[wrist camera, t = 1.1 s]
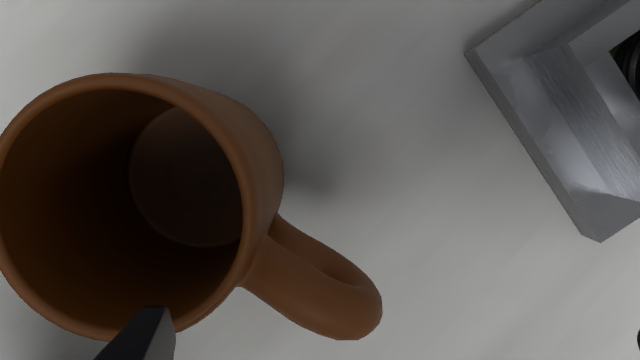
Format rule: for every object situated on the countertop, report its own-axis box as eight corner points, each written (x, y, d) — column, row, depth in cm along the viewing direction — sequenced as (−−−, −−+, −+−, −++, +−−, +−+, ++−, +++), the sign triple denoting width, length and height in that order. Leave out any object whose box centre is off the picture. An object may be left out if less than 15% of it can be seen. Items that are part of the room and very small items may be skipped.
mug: (400, 186, 22) (459, 231, 13) (322, 326, 23) (324, 466, 14) (164, 60, 21) (44, 11, 12) (92, 209, 22) (-73, 271, 13)
